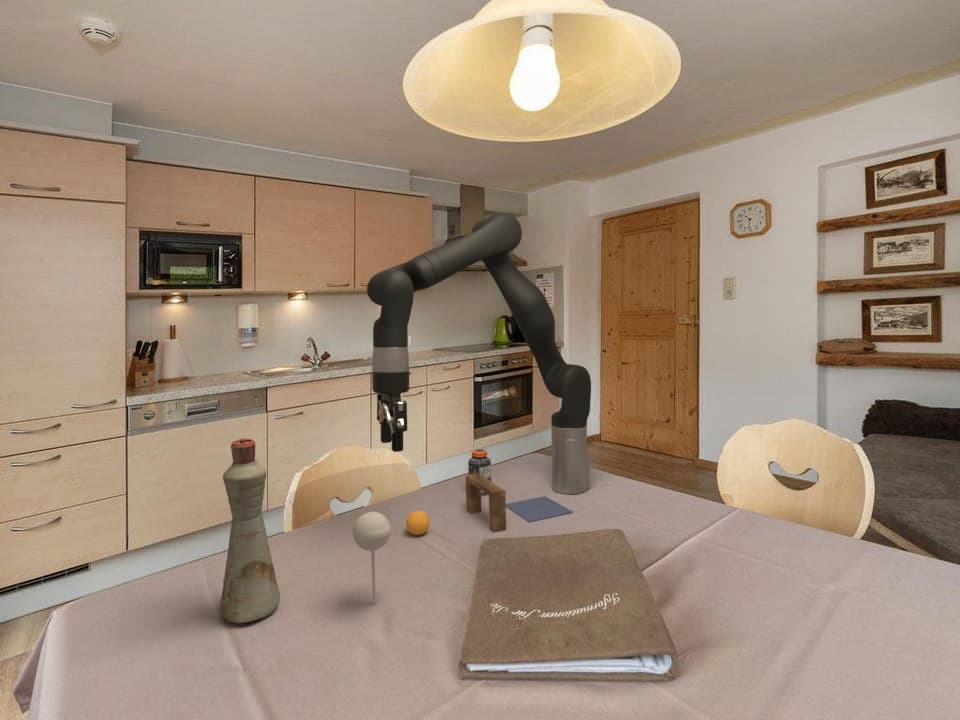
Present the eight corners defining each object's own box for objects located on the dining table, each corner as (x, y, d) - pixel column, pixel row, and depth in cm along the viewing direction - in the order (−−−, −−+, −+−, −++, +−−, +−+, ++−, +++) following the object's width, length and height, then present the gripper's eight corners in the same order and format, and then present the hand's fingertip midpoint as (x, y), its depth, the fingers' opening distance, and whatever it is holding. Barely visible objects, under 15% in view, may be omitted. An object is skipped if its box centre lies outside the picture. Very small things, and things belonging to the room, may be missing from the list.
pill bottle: (465, 490, 135) (464, 449, 134) (485, 487, 137) (484, 446, 136) (474, 497, 130) (473, 454, 129) (495, 494, 132) (494, 451, 131)
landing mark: (544, 496, 129) (544, 496, 129) (573, 512, 118) (573, 511, 118) (503, 505, 124) (503, 504, 124) (529, 522, 113) (529, 521, 113)
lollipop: (401, 602, 82) (398, 512, 81) (370, 618, 78) (367, 523, 76) (378, 589, 86) (375, 503, 85) (348, 604, 82) (344, 513, 81)
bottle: (218, 634, 75) (206, 447, 72) (222, 603, 83) (211, 434, 81) (281, 619, 78) (272, 440, 76) (279, 591, 86) (270, 428, 84)
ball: (425, 527, 112) (424, 505, 111) (433, 536, 107) (432, 513, 107) (403, 532, 109) (402, 509, 109) (410, 540, 105) (409, 517, 104)
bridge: (477, 508, 122) (477, 473, 121) (506, 529, 110) (505, 490, 109) (466, 510, 121) (465, 475, 120) (493, 532, 108) (493, 492, 108)
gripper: (419, 371, 100) (419, 452, 101) (398, 365, 112) (399, 438, 114) (381, 372, 96) (382, 456, 97) (364, 367, 109) (365, 441, 110)
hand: (391, 446), depth 105 cm, fingers open, 8 cm apart
